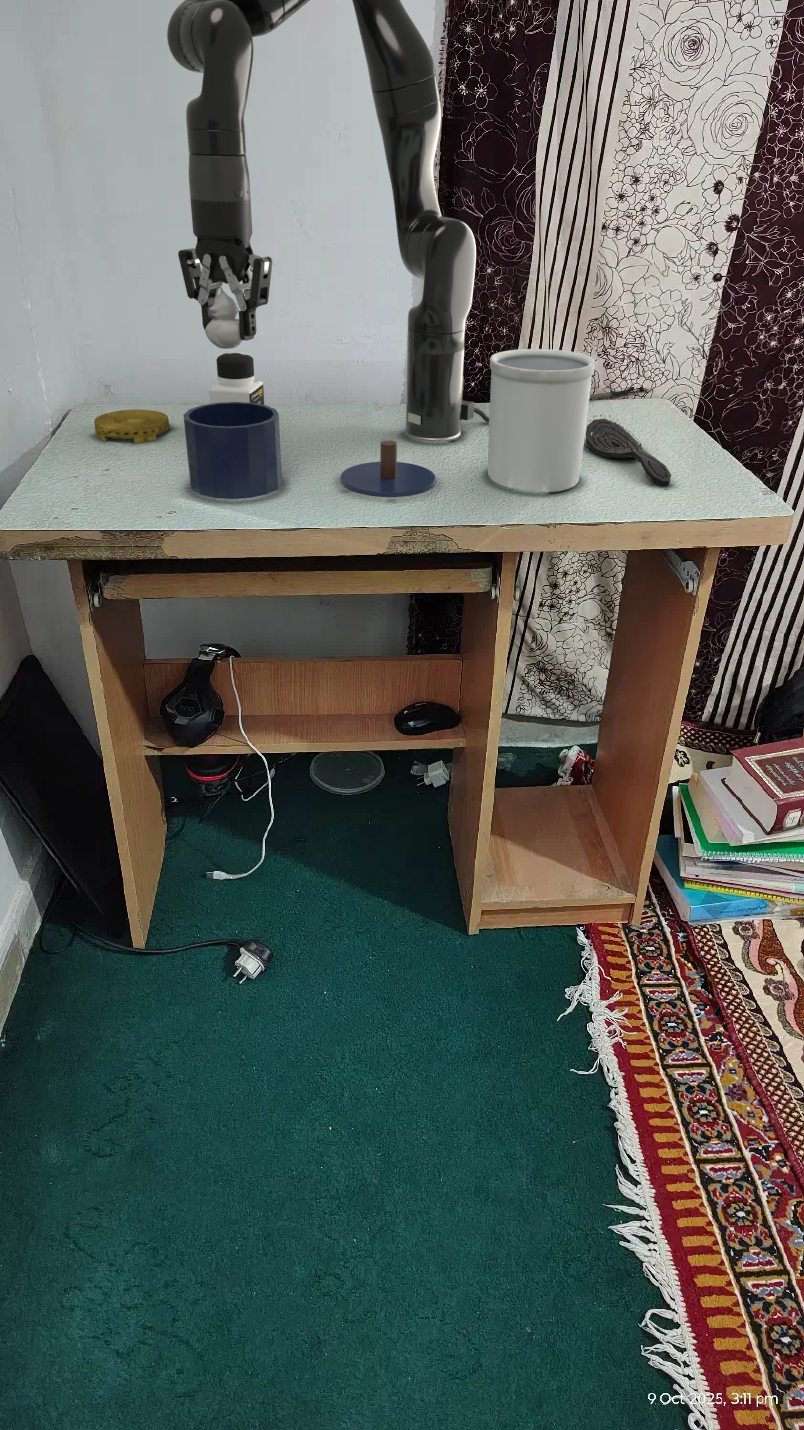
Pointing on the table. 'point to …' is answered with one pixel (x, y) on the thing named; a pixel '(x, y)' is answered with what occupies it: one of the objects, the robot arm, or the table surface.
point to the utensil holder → (538, 418)
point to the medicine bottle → (236, 380)
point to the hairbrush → (624, 448)
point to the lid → (388, 475)
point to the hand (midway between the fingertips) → (229, 336)
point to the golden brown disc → (131, 425)
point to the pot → (233, 449)
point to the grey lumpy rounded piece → (224, 322)
